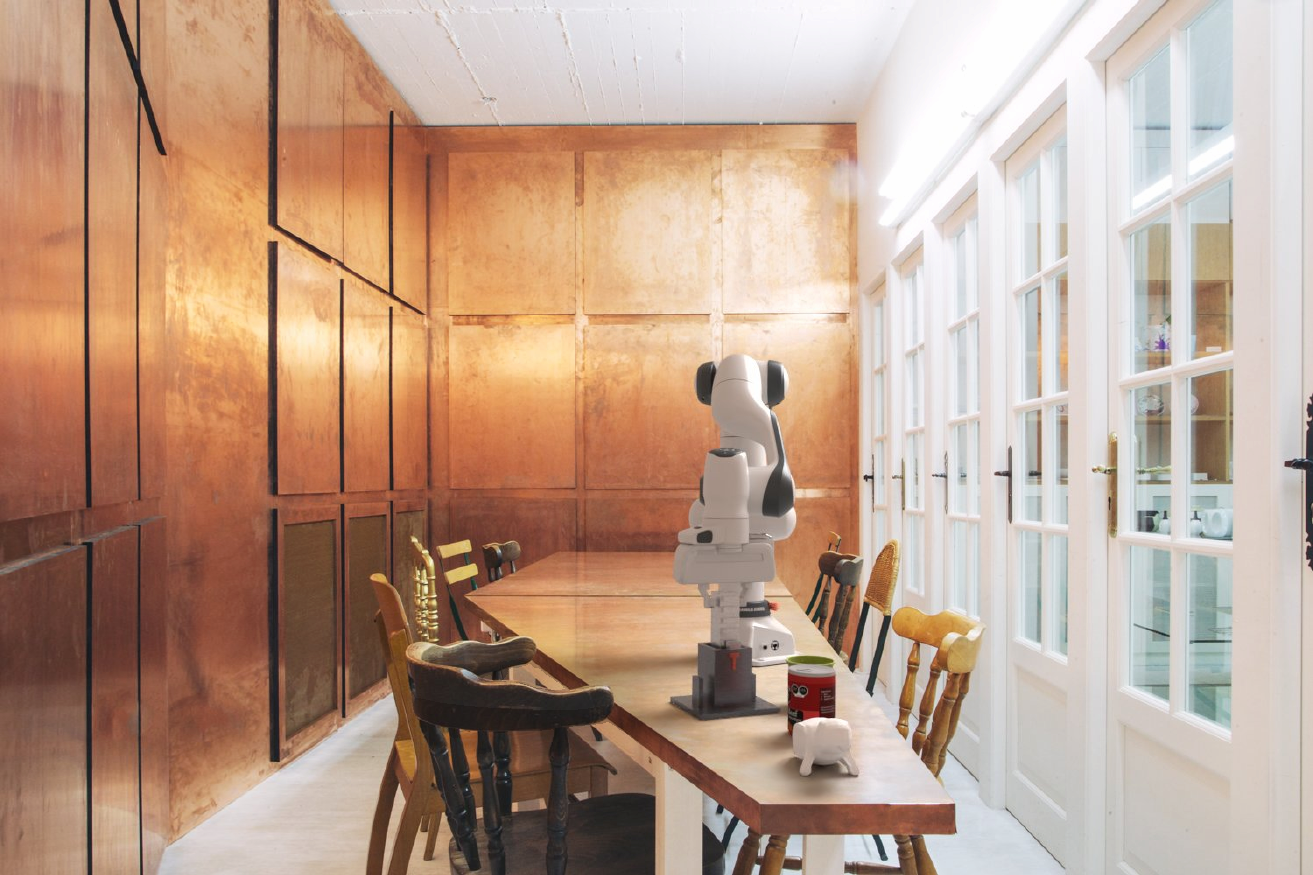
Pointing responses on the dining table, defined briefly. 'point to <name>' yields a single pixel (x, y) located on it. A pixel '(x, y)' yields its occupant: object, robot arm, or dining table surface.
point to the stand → (724, 685)
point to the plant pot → (810, 660)
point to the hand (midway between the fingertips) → (725, 607)
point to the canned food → (810, 693)
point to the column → (724, 618)
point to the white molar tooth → (823, 744)
